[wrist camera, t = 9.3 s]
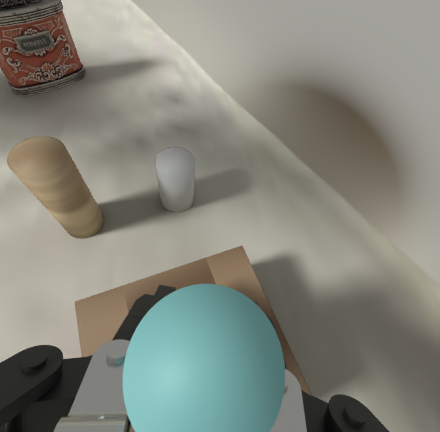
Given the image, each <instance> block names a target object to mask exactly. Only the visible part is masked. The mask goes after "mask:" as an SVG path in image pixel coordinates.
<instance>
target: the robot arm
mask: <svg viewBox="0 0 440 432" xmlns="http://www.w3.org/2000/svg"><path fill="white" fill-rule="evenodd" d="M174 291H176V287H171V286H165V285H159V286H158V288H157V290H156V292H155V294H154V295H149V294H144V295H143V296H141V297H140V298H138V299H137V300H136V301H135V303H134V304H133V306H132V308H131V309H130V311H129V313H128V315H127V316H126V318H125V319H124V321H123V323H122V324H121V326H120V328H119V329H118V331H117V333H116V334H115V336H114V338H113V339H112V341H109V342H106V343H104V344H103V345H101V346H100V347H99V348H98V349H97V350H96V351H95V352H94V354H93V355H91V356H87V357H81V358H71V359H63V354H62V352H61V350H60V349H59V348H57V347H55V346H51V345H39V346H34V347H30V348H28V349H25V350H23V351H21V352H19V353H17V354H15V355H14V356H12V357H10V358H8V359H7V360H5V361H3V362H1V363H0V432H130V428H131V422H130V419H129V417H128V414H127V410H126V406H125V402H124V394H123V369H124V361H125V357H126V353H127V349H128V346H129V343H130V341H131V338H132V336H133V334H134V332H135V330H136V328H137V326H138V325H139V323H140V322H141V320H142V319H143V317H144V316H145V315H146V314H147V312H148V311H149V310H150V309H151V308H152V307H153V306H154V305H155V304H156V303H157V302H159V301H160V300H161V299H163V298H164V297H165V296H167V295H169V294H170V293H172V292H174ZM253 302H254V303H255V304H256V305H257V306H258V303H257V301H253ZM266 316H267V318H268V319H269V320H270V322H271V324H272V326H273V327H274V329H275V331H276V328H275V324H274V323H273V321H272V320H271V319H270V318H269V316H268V315H266ZM276 334H277V332H276ZM277 336H278V335H277ZM283 358H284V356H283ZM284 364H285V387H284V394H283V400H282V404H281V407H280V410H279V414H278V416H277V418H276V421H275V423H274V425H273V427H272V429H271V430H270V432H389V431H388V430H387V429H386V428H385V427H384V425H383V424H382V423H381V422H380V421H379V420H378V419H377V418H376V417H375V416H374V415H373V414H372V413H371V411H370V410H369V409H368V408H367V407H365V406H364V405H363V404H362V403H360V402H359V401H357V400H356V399H354V398H352V397H350V396H346V395H339V394H338V395H334V396H333V397H332V398H331V399H330V401H329V403H327V402H324V401H322V400H320V399H318V398H316V397H313V396H311V395H309V394H307V393H306V392H304V391H303V390H301V386H300V384H299V382H298V380H297V379H296V377H295V376H294V375H293V374H292V373H291V372H290V371H288V370H287V367H286V363H285V360H284Z"/></svg>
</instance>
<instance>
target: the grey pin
mask: <svg viewBox="0 0 440 432" xmlns="http://www.w3.org/2000/svg"><path fill="white" fill-rule="evenodd" d="M155 165H156V171H157V178H158V184H159V191H160V197H161V202H162V205H163V206H164V207H165V208H166V209H167V210H169V211H172V212H182V211H185V210H187V209H188V208H190V207H191V205H192V204H193V201H194V181H195V158H194V156H193V155H192V153H191V152H189V151H188V150H186V149H184V148H180V147H170V148H166V149H164V150H162V151H161V152H160V153H159V154H158V155H157V157H156V159H155Z"/></svg>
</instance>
